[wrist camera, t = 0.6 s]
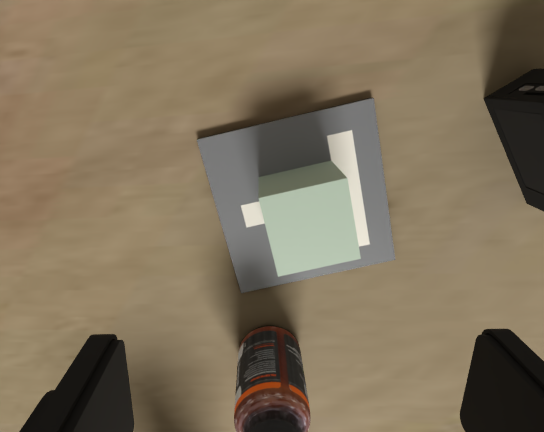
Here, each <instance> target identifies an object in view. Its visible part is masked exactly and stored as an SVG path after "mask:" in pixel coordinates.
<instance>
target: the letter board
mask: <svg viewBox="0 0 544 432" xmlns="http://www.w3.org/2000/svg"><path fill="white" fill-rule="evenodd" d="M197 142H198V146H199V149H200V153H201V156H202V159H203V163H204V166H205V170H206V173H207V177H208V180H209V184H210V187H211V191H212V194H213V197H214V201H215V204H216V208H217V211H218V215H219V218H220V222H221V225H222V229H223V232H224V235H225V239H226V242H227V246H228V249H229V253H230V256H231V260H232V263H233V267H234V270H235V273H236V277H237V280H238V284H239V287H240V291H241V293H244V292H249V291H253V290H258V289H262V288H267V287H272V286H276V285H281V284H285V283H290V282H295V281H299V280H304V279H309V278H313V277H318V276H322V275H327V274H332V273H336V272H341V271H345V270H350V269H355V268H359V267H364V266H368V265H373V264H378V263H382V262H387V261H391V260H395V254H394V246H393V239H392V231H391V224H390V217H389V209H388V202H387V194H386V187H385V179H384V172H383V164H382V157H381V149H380V142H379V135H378V127H377V120H376V112H375V105H374V98H369V99H364V100H360V101H356V102H352V103H347V104H343V105H339V106H335V107H331V108H326V109H322V110H318V111H314V112H309V113H305V114H301V115H297V116H292V117H288V118H284V119H280V120H276V121H271V122H267V123H263V124H259V125H254V126H250V127H246V128H242V129H237V130H233V131H229V132H225V133H220V134H216V135H212V136H208V137H204V138H199V139H197ZM327 161H332V162H333V163H334V164H335V165H336V166H337V167H338V168H339V169H340V170H341V172H342V173H343V174H344V175H345V176H346V177H347V179H348V185H349V191H350V197H351V203H352V209H353V215H354V221H355V227H356V233H357V239H358V245H359V251H360V257H361V259H357V260H353V261H348V262H343V263H339V264H334V265H330V266H325V267H321V268H316V269H311V270H307V271H302V272H298V273H293V274H288V275H284V276H279V277H278V274H277V270H276V266H275V262H274V258H273V254H272V250H271V246H270V242H269V238H268V234H267V230H266V226H265V222H264V218H263V214H262V210H261V206H260V202H259V198H258V196H259V177H262V176H266V175H270V174H275V173H279V172H283V171H288V170H292V169H297V168H301V167H305V166H310V165H314V164H318V163H323V162H327Z"/></svg>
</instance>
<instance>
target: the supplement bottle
mask: <svg viewBox="0 0 544 432" xmlns="http://www.w3.org/2000/svg"><path fill="white" fill-rule="evenodd" d="M234 423H235V429H236V432H308V429H309V426H310V409H309V402H308V396H307V390H306V383H305V377H304V371H303V364H302V358H301V352H300V348H299V344H298V342H297V340H296V339H295V337H294V336H293V335H292V334H291V333H290V332H288V331H287V330H285V329H282V328H279V327H274V326H265V327H261V328H258V329H255V330H253V331H252V332H250V333H249V334H248V335H247V336H245V338H244V339H243V341H242V342H241V345H240V347H239V354H238V366H237V383H236V398H235V414H234Z"/></svg>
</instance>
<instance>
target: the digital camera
mask: <svg viewBox="0 0 544 432" xmlns="http://www.w3.org/2000/svg"><path fill="white" fill-rule="evenodd" d="M489 96H490V97H485V98H484V101H485V103H486V106H487V108H488V111H489V113H490V115H491V118H492V120H493V123H494V125H495V128H496V130H497V132H498V135H499V137H500V140H501V142H502V145H503V147H504V149H505V152H506V154H507V157H508V159H509V162H510V164H511V166H512V169H513V171H514V174H515V176H516V179H517V181H518V183H519V186H520V188H521V191H522V193H523V195H524V198H525V200H526V203H527V204H529V205H531V206H533V207H535V208H538V209H540V210H542V211H544V69H533V70H531V71H530V72H528V73H526V74H525V75H523V76H521V77H519V78H518V79H516V80H514V81H513V82H511V83H509V84H508V85H506V86H504V87H502V88H501V89H499V90H497V91H496V92H494V93H492V94H491V95H489ZM504 97H507V98H504Z"/></svg>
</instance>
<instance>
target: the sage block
mask: <svg viewBox="0 0 544 432" xmlns="http://www.w3.org/2000/svg"><path fill="white" fill-rule="evenodd" d="M258 198H259V202H260V206H261V210H262V214H263V218H264V222H265V226H266V230H267V234H268V238H269V242H270V246H271V250H272V254H273V258H274V262H275V266H276V270H277V274H278V277H279V276H284V275H288V274H293V273H298V272H302V271H307V270H311V269H316V268H321V267H325V266H330V265H334V264H339V263H343V262H348V261H353V260H357V259H361V257H360V251H359V245H358V239H357V233H356V227H355V221H354V215H353V209H352V203H351V197H350V191H349V185H348V179H347V177H346V176H345V175H344V174H343V173H342V172H341V170H340V169H339V168H338V167H337V166H336V165H335V164H334V163H333V162H332V161H327V162H323V163H318V164H314V165H310V166H305V167H301V168H297V169H292V170H288V171H283V172H279V173H275V174H270V175H266V176H262V177H259V196H258Z"/></svg>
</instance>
